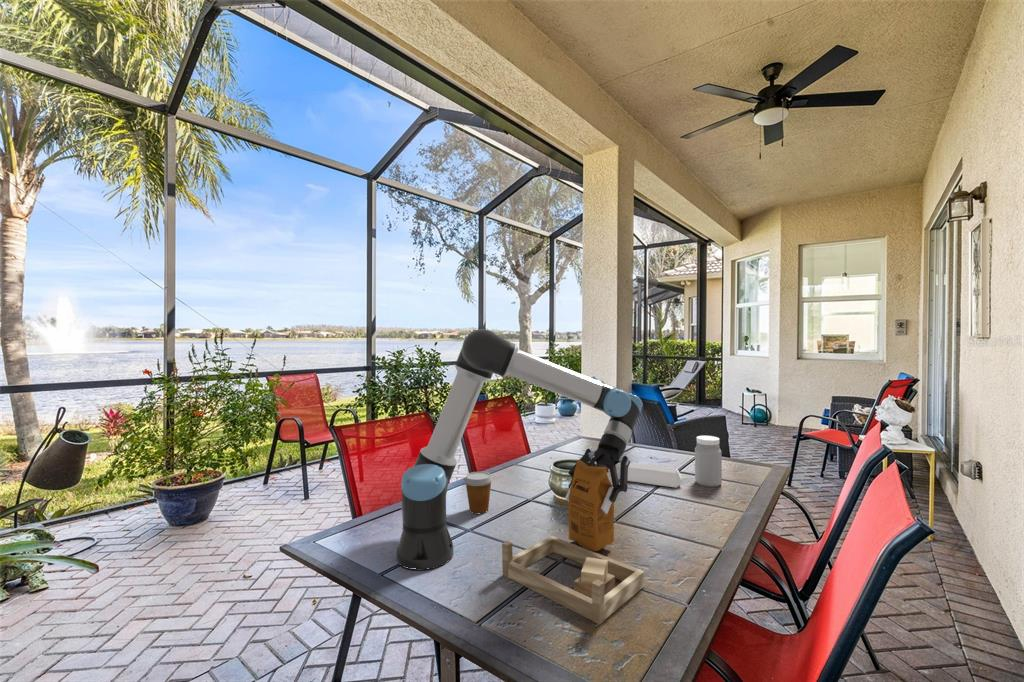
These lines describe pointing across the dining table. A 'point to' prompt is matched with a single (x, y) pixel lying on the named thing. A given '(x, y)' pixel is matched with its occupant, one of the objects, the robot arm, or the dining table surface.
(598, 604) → the rack
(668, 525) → the dining table surface
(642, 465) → the white triangular prism
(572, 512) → the coffee package
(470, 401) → the robot arm
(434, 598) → the dining table surface
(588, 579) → the offcut upper
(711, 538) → the dining table surface
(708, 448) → the jar
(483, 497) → the disposable coffee cup
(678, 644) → the dining table surface
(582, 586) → the offcut lower
